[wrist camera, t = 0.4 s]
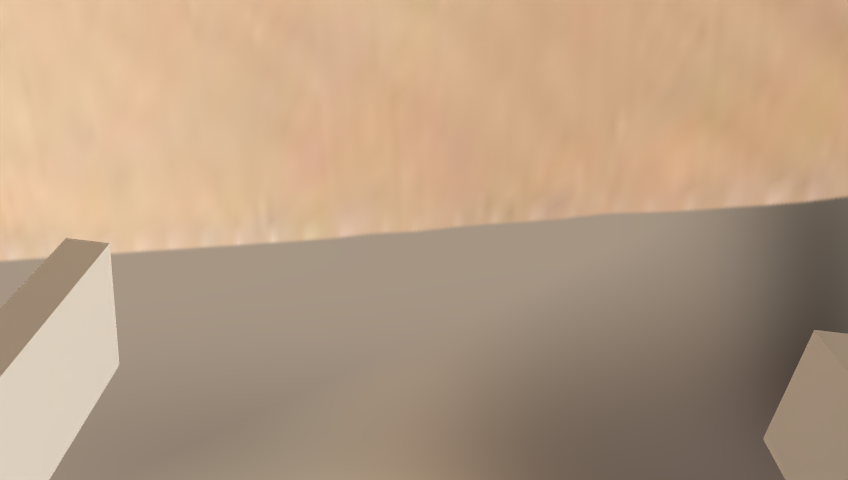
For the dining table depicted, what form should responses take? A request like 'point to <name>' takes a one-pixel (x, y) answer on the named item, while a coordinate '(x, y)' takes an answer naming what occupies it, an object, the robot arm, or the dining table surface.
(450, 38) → the dining table surface
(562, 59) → the dining table surface
